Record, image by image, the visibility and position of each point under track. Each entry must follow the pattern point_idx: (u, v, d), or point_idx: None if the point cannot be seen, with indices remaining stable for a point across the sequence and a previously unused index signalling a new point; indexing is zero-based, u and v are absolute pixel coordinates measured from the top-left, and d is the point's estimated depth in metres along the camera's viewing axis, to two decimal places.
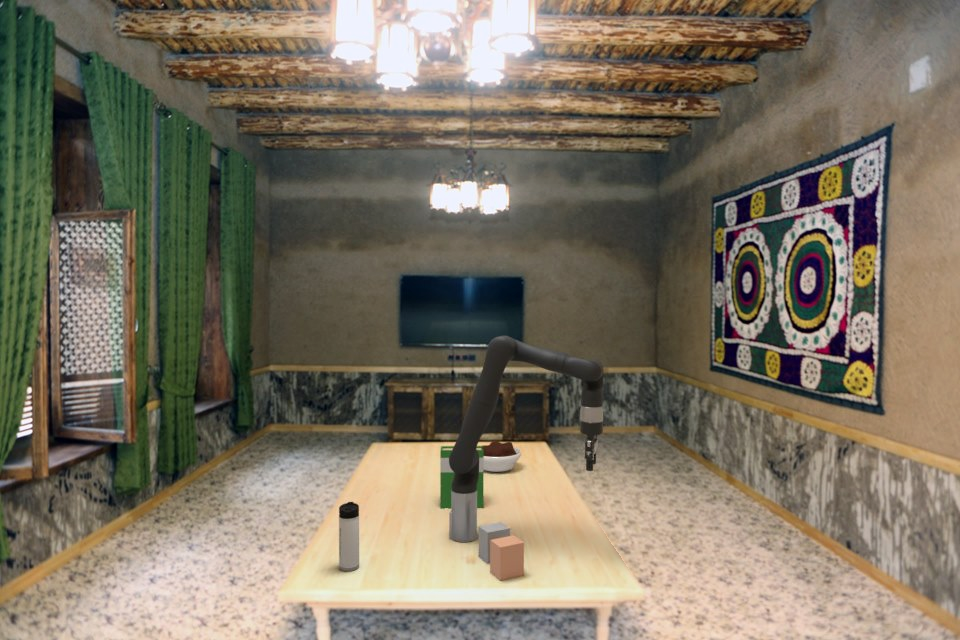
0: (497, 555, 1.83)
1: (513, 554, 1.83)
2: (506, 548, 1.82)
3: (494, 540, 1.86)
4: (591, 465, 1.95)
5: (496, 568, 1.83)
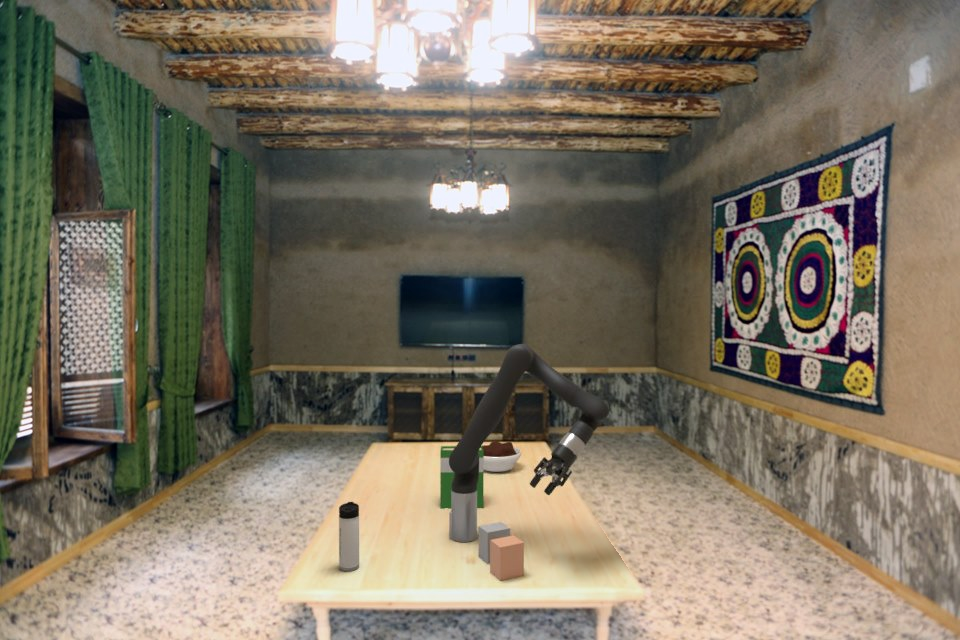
0: (497, 555, 1.83)
1: (513, 554, 1.83)
2: (506, 548, 1.82)
3: (494, 540, 1.86)
4: (552, 490, 1.87)
5: (496, 568, 1.83)
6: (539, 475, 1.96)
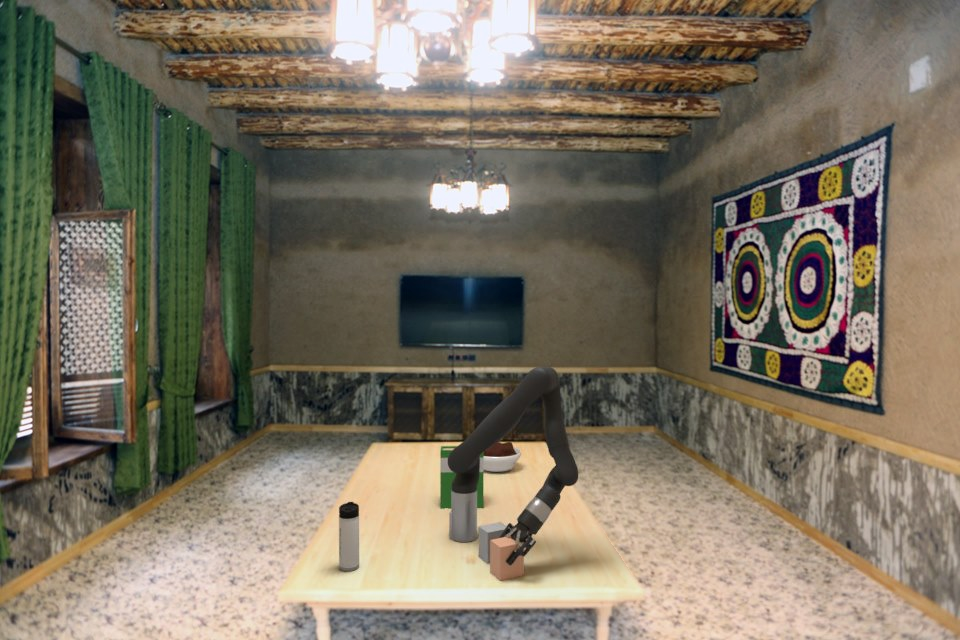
0: (497, 555, 1.83)
1: None
2: (506, 548, 1.82)
3: (494, 540, 1.86)
4: None
5: (496, 568, 1.83)
6: None
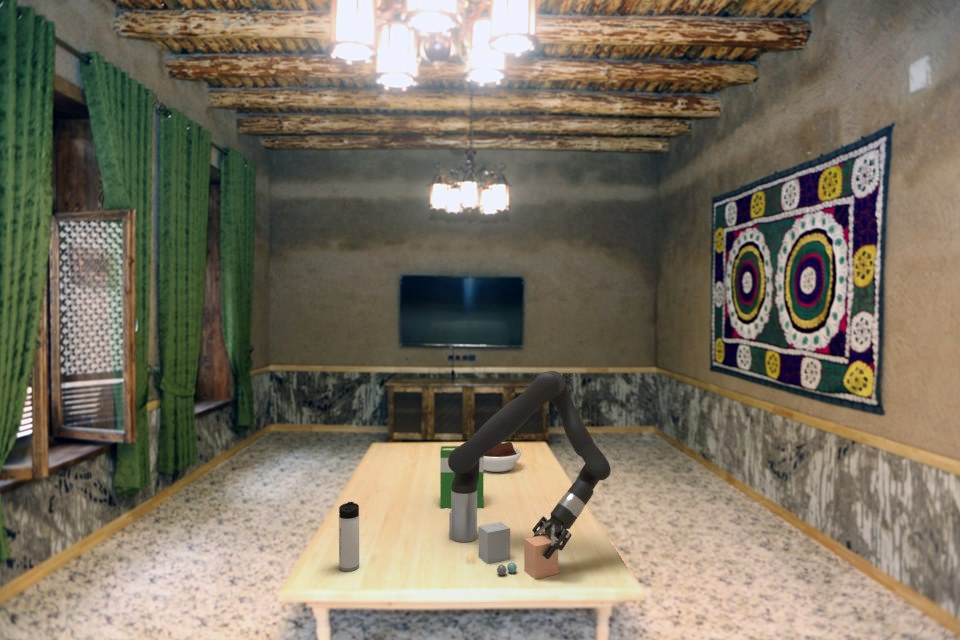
0: (532, 554, 1.83)
1: None
2: (541, 547, 1.83)
3: (528, 539, 1.87)
4: (551, 554, 1.82)
5: (531, 567, 1.84)
6: None
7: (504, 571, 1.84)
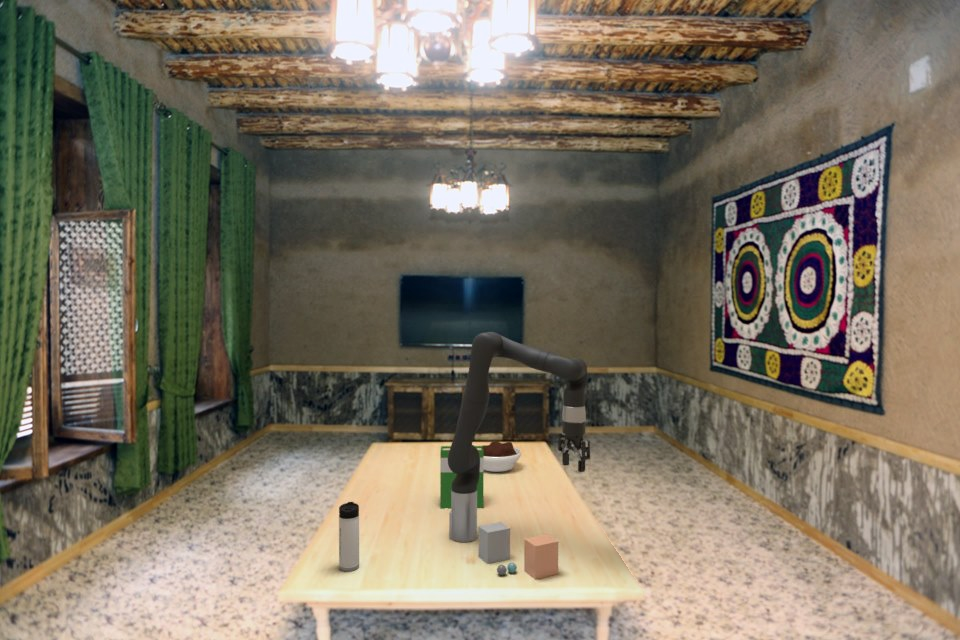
0: (532, 554, 1.83)
1: (548, 553, 1.84)
2: (541, 547, 1.83)
3: (528, 539, 1.87)
4: (584, 465, 1.92)
5: (531, 567, 1.84)
6: (565, 452, 1.99)
7: (504, 571, 1.84)
